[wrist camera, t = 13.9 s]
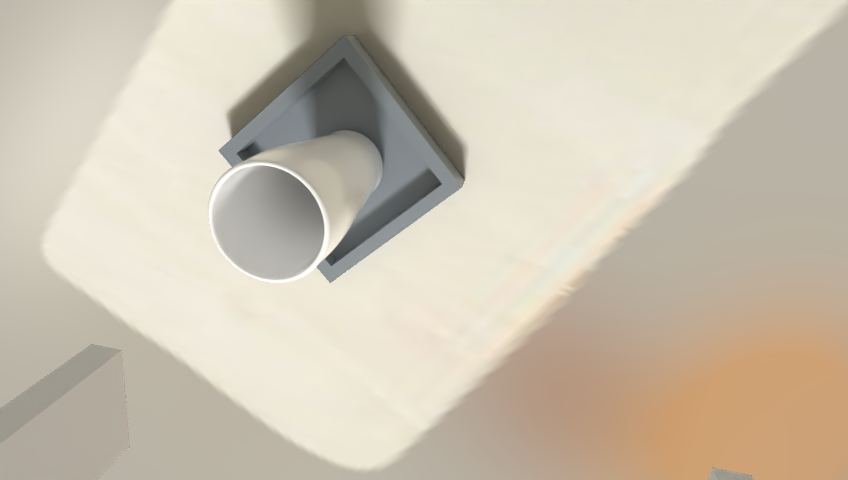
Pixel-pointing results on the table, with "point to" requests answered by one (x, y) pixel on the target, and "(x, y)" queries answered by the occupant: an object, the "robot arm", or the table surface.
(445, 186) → the grey tray
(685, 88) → the table surface
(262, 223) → the white cup
